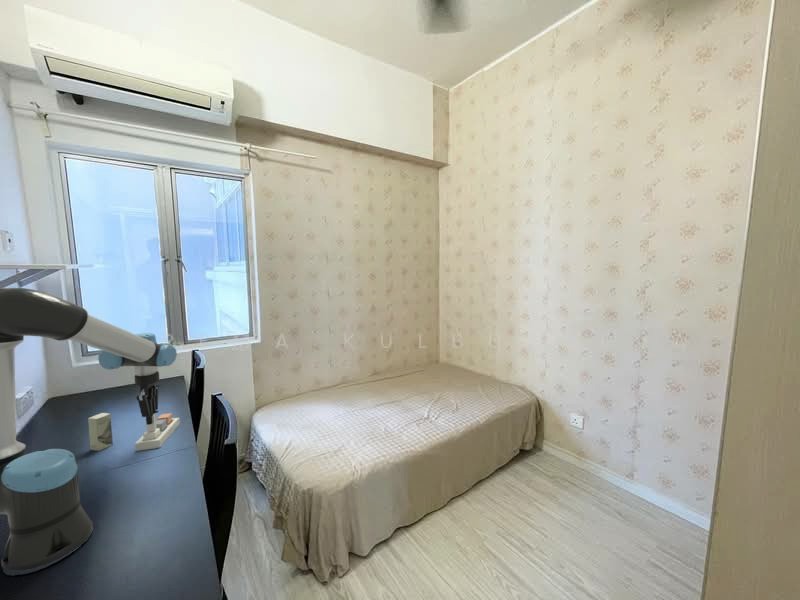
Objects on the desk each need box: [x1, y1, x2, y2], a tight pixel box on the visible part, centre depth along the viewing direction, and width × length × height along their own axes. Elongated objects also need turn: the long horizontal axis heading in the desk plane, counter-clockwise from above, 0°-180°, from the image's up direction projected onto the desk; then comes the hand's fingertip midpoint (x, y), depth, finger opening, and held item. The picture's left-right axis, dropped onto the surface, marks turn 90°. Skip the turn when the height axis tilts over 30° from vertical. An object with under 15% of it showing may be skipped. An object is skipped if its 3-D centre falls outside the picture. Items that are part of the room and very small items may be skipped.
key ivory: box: [142, 428, 160, 441], centre depth 126 cm, size 4×4×3 cm
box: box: [87, 412, 114, 452], centre depth 123 cm, size 5×4×13 cm
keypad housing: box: [134, 417, 181, 452], centre depth 132 cm, size 20×8×3 cm, turn 16°
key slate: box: [156, 419, 167, 431], centre depth 131 cm, size 4×4×3 cm
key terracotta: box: [156, 412, 173, 425], centre depth 137 cm, size 4×4×3 cm
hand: (151, 430), depth 126 cm, fingers closed
